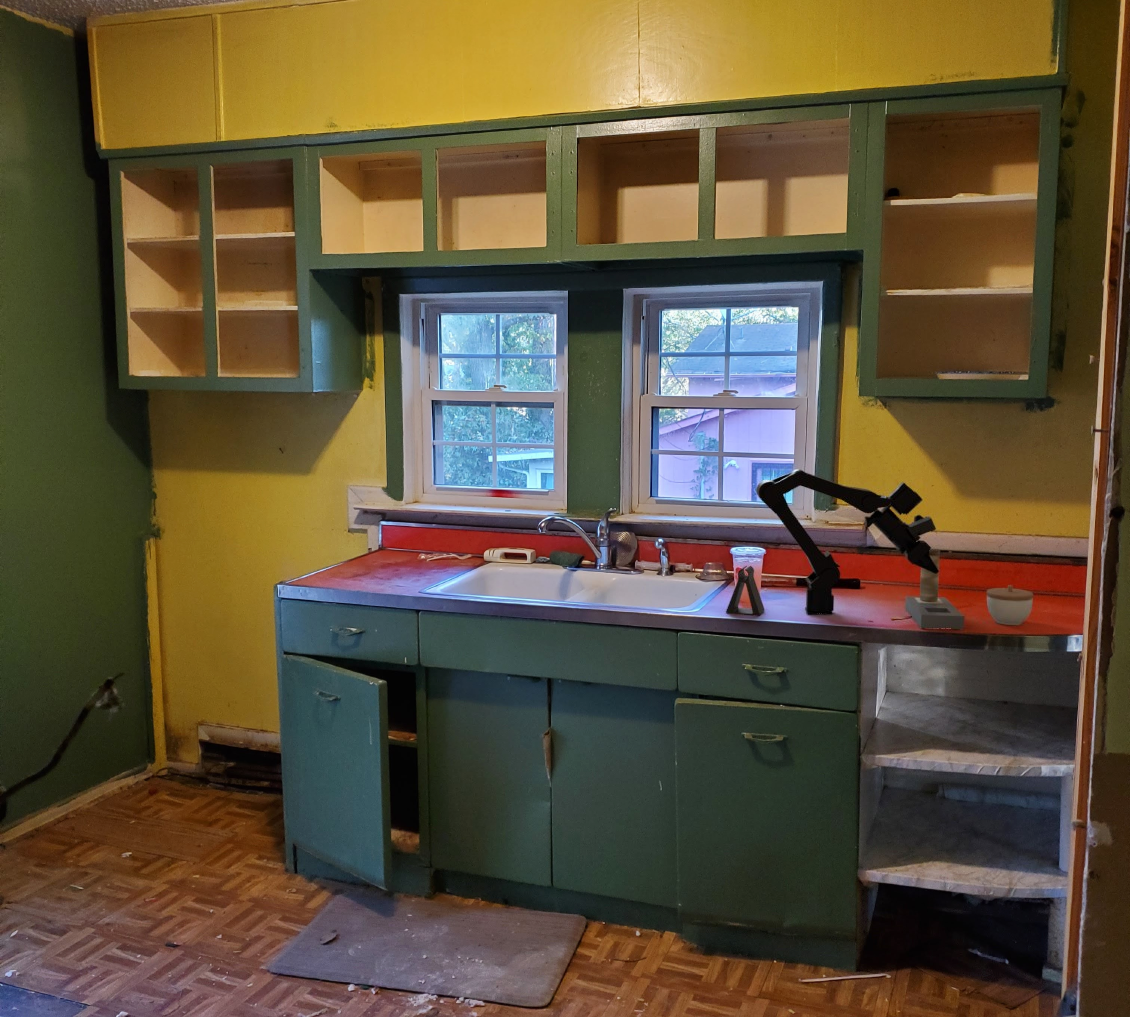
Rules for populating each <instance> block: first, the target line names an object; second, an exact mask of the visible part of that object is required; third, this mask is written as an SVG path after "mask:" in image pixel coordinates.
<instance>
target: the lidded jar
mask: <svg viewBox="0 0 1130 1017" xmlns="http://www.w3.org/2000/svg"><path fill="white" fill-rule="evenodd" d="M1033 599H1034V593H1033V592H1032V591H1030V590H1025V589H1019V588H1014V587H1013V585H1012V584H1010V585H1009V584H1008V585H1007V587H994V588H989V589H987V590H986V603H987V604H986V606H987V610H988V613H989V614H990V616H991V617H992V618H993V620H994V621H995V623H997V624H1000V625H1004V626H1005V625H1006V626H1020V625H1022V623H1023V622H1024V621H1026V620H1027V619H1028V618H1029V616H1030V614H1031V611H1032V607H1033Z"/></svg>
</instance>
